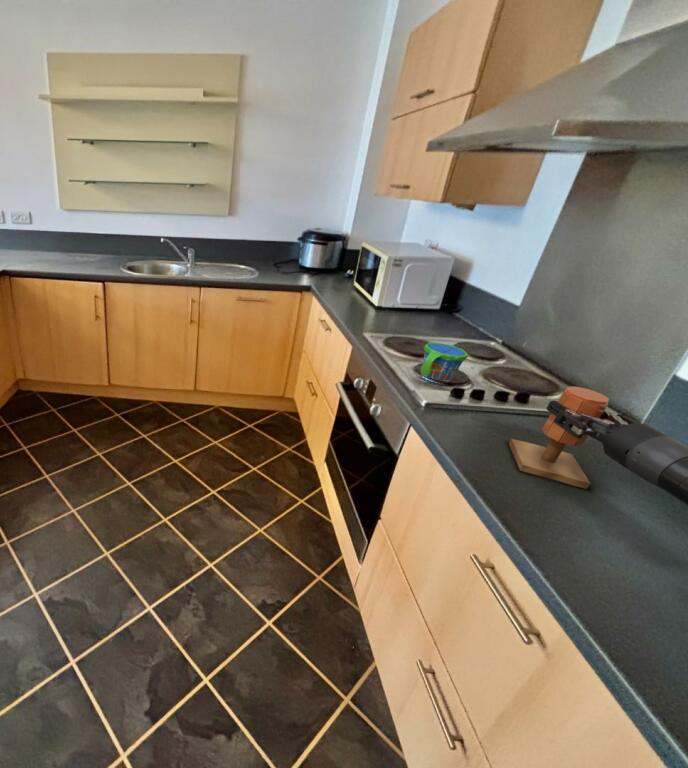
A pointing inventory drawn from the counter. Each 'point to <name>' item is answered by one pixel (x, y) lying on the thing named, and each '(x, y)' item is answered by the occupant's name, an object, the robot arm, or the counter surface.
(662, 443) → the robot arm
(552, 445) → the stand
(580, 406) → the terracotta cup
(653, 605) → the counter surface
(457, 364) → the snack cup
